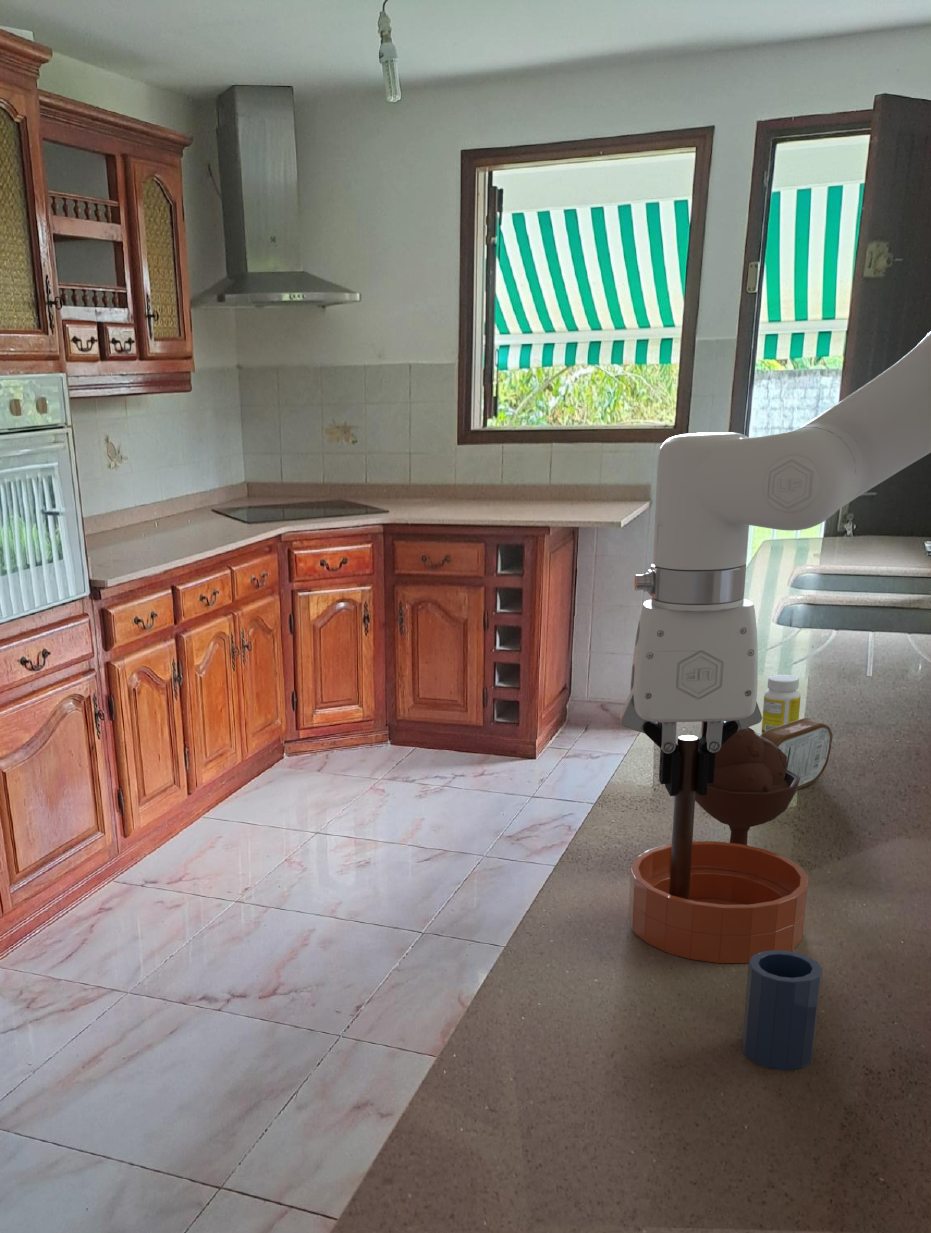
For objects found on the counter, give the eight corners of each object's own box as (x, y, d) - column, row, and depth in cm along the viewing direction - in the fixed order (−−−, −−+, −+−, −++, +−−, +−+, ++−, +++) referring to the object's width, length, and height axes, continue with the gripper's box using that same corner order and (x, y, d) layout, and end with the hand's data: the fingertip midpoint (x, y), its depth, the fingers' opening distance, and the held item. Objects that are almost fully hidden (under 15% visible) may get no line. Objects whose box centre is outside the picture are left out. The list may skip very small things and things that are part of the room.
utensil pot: (800, 1041, 91) (810, 949, 88) (820, 1077, 86) (831, 982, 83) (734, 1040, 91) (742, 949, 89) (750, 1076, 87) (759, 982, 84)
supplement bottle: (791, 730, 166) (797, 673, 163) (801, 740, 162) (806, 681, 159) (757, 731, 167) (761, 674, 164) (765, 741, 162) (770, 682, 159)
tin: (810, 773, 149) (816, 710, 146) (833, 779, 146) (840, 714, 143) (739, 801, 141) (744, 735, 138) (761, 808, 138) (767, 740, 135)
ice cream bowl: (761, 889, 117) (774, 747, 112) (663, 861, 125) (671, 727, 120) (811, 858, 124) (825, 722, 118) (715, 833, 131) (724, 705, 126)
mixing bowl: (776, 896, 115) (781, 840, 113) (823, 969, 101) (830, 907, 99) (618, 897, 117) (620, 842, 115) (643, 969, 103) (646, 908, 101)
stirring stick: (685, 916, 110) (696, 734, 104) (689, 925, 108) (700, 740, 102) (665, 916, 110) (676, 735, 104) (669, 925, 109) (679, 741, 102)
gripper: (608, 597, 96) (601, 806, 102) (807, 590, 94) (787, 803, 100) (597, 582, 103) (591, 779, 109) (782, 575, 101) (765, 776, 107)
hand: (685, 789), depth 105 cm, fingers closed on stirring stick, 1 cm apart
